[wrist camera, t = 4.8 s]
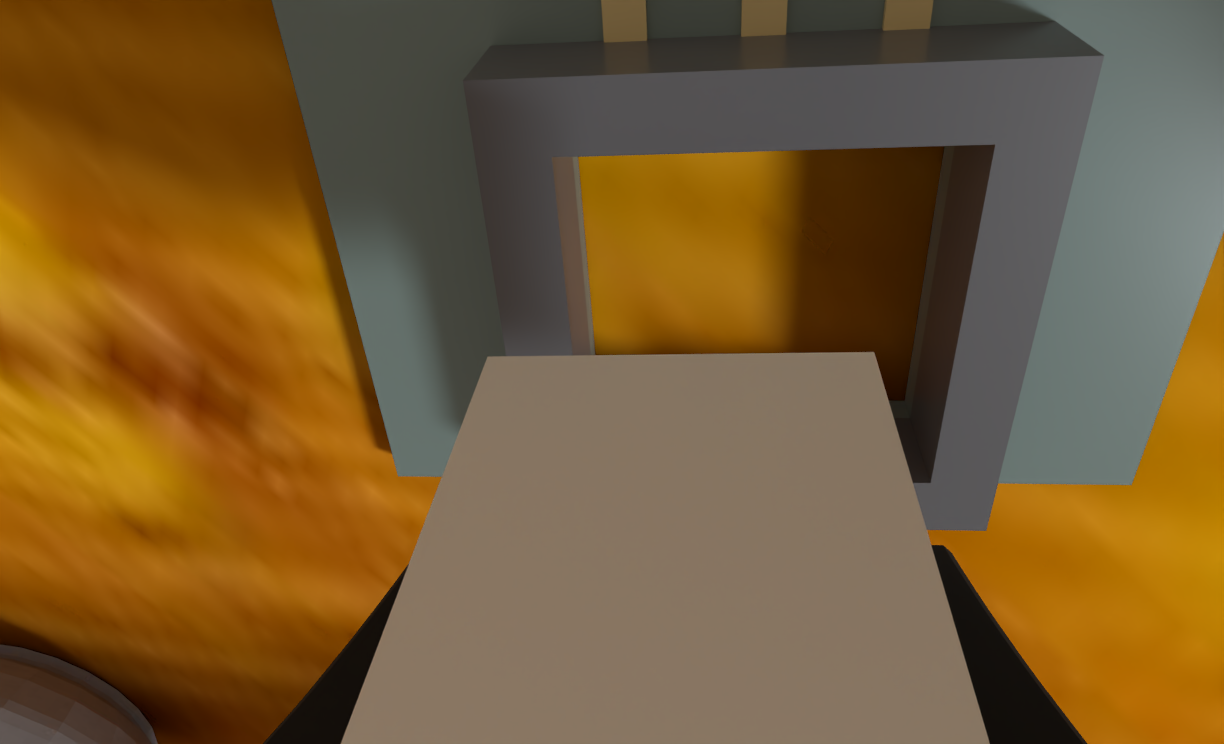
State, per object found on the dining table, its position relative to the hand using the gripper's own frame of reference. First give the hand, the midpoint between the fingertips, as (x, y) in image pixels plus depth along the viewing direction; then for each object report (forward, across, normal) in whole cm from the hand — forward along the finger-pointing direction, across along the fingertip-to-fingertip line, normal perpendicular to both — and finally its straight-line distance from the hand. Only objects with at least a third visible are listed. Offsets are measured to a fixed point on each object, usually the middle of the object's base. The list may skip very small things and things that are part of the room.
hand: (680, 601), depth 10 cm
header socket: (+8, -1, -2) cm, 9 cm away
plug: (+2, 0, 0) cm, 2 cm away
